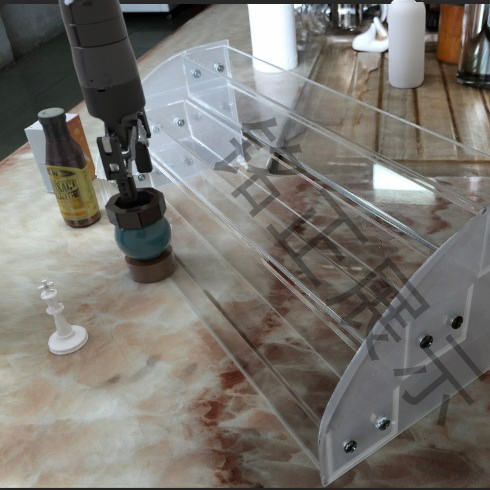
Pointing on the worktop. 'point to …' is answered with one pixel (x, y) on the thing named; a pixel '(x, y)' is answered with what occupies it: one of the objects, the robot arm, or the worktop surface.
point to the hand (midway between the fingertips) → (138, 185)
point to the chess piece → (61, 324)
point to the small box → (39, 146)
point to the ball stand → (147, 250)
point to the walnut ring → (136, 209)
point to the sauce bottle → (68, 170)
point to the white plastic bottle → (406, 43)
